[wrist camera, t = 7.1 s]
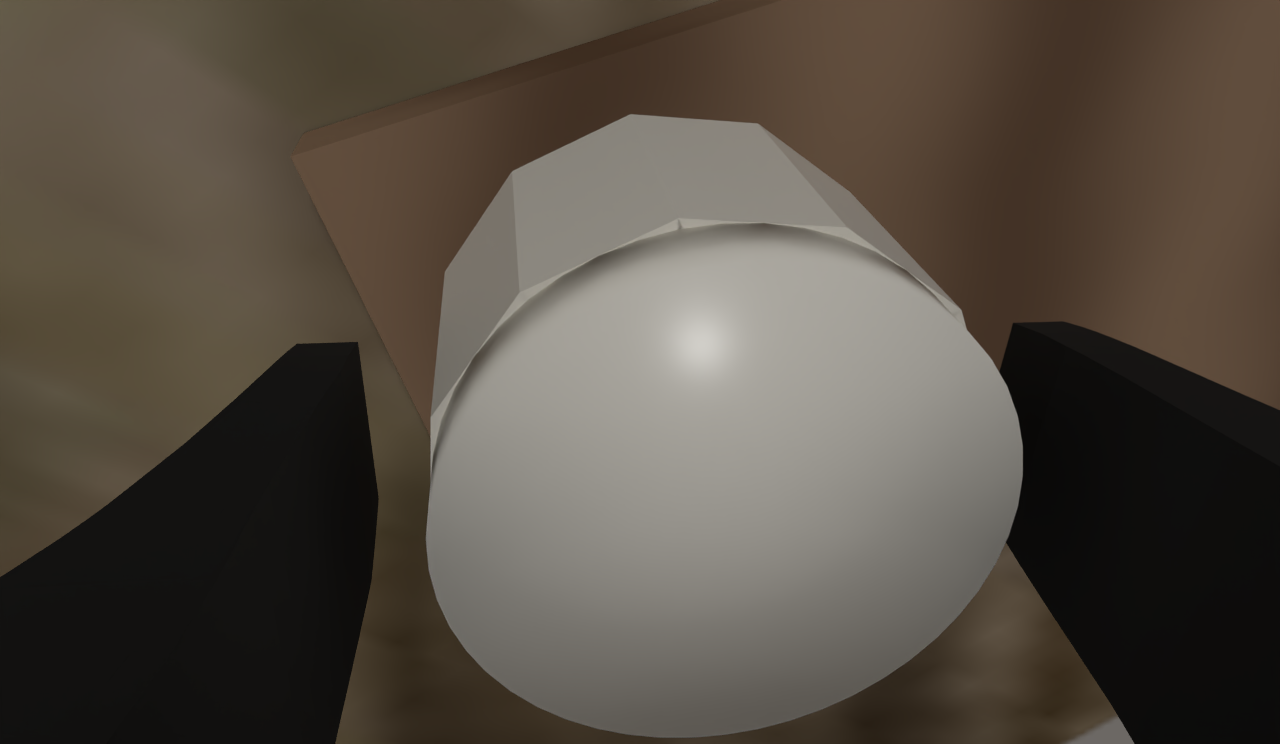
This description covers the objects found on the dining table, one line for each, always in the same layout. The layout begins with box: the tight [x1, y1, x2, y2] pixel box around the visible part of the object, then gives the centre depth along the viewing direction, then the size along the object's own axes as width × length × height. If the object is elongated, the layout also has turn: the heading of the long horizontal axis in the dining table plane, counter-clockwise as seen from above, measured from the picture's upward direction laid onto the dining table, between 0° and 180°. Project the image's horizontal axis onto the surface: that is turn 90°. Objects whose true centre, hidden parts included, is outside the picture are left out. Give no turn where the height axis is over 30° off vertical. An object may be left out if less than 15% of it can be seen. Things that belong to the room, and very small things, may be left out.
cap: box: [426, 114, 1023, 738], centre depth 10 cm, size 6×6×4 cm
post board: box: [291, 0, 1280, 437], centre depth 13 cm, size 20×10×6 cm, turn 105°
